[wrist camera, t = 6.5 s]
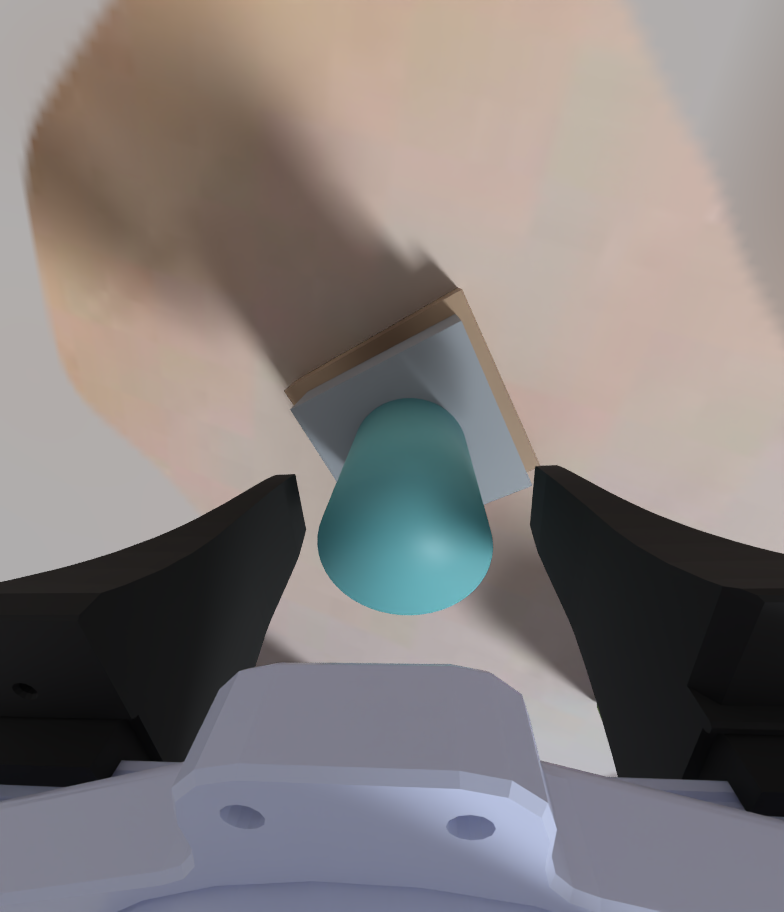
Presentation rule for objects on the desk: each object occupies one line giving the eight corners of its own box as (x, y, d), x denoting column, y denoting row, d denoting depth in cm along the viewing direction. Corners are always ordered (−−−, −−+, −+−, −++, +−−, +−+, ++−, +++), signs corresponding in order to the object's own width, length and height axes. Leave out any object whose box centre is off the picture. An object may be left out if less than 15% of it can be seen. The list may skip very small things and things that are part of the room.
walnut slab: (383, 507, 22) (379, 533, 20) (299, 377, 19) (284, 390, 17) (526, 444, 20) (540, 466, 18) (456, 287, 17) (461, 289, 15)
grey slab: (382, 514, 20) (377, 545, 17) (307, 391, 17) (290, 409, 15) (518, 458, 18) (532, 485, 16) (455, 313, 15) (461, 320, 13)
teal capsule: (387, 516, 17) (371, 633, 11) (332, 429, 15) (283, 516, 10) (484, 474, 15) (519, 583, 10) (435, 377, 14) (446, 442, 9)
